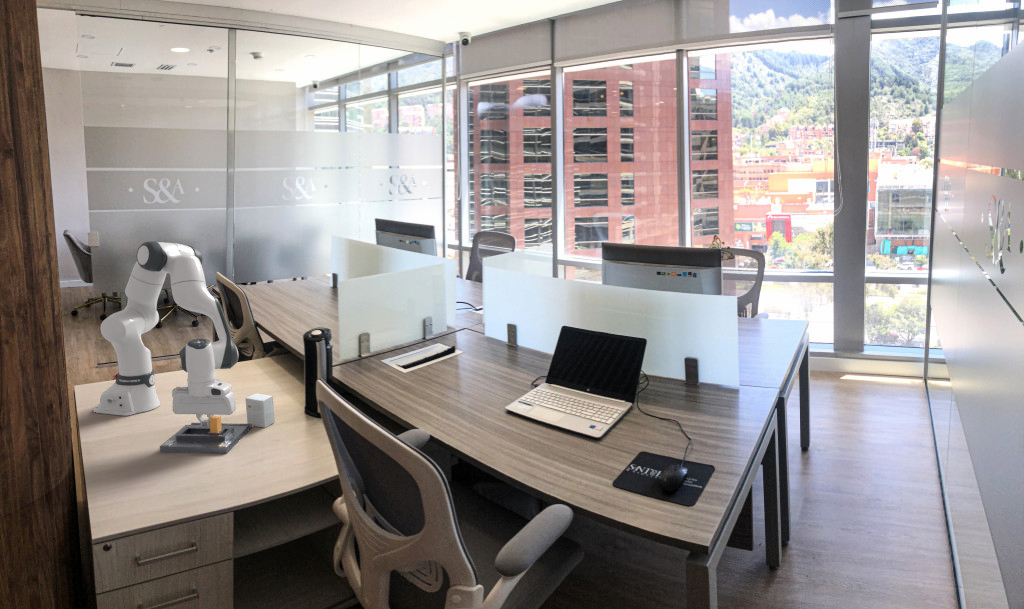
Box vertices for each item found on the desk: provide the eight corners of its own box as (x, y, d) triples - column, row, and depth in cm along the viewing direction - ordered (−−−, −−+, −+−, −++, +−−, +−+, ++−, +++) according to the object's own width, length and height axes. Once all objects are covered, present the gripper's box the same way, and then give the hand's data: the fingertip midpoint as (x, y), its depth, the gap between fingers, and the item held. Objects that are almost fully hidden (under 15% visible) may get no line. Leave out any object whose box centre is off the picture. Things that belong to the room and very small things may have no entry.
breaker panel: (160, 452, 215) (159, 441, 214) (186, 430, 232) (185, 420, 232) (227, 453, 215) (226, 443, 214) (248, 431, 233) (247, 421, 232)
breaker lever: (207, 437, 221) (206, 419, 220) (213, 432, 225) (212, 415, 224) (219, 437, 221) (218, 420, 220) (224, 432, 225) (223, 415, 224)
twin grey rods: (188, 429, 233) (188, 425, 233) (193, 425, 236) (192, 422, 236) (249, 430, 234) (249, 426, 233) (253, 426, 237) (252, 423, 236)
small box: (275, 422, 241) (273, 395, 239) (264, 428, 236) (263, 400, 234) (257, 419, 244) (255, 392, 241) (246, 425, 238) (245, 397, 236)
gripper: (166, 389, 216) (170, 428, 219) (228, 390, 217) (231, 429, 220) (176, 383, 223) (179, 421, 225) (236, 384, 223) (239, 422, 226)
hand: (205, 425), depth 223 cm, fingers closed
